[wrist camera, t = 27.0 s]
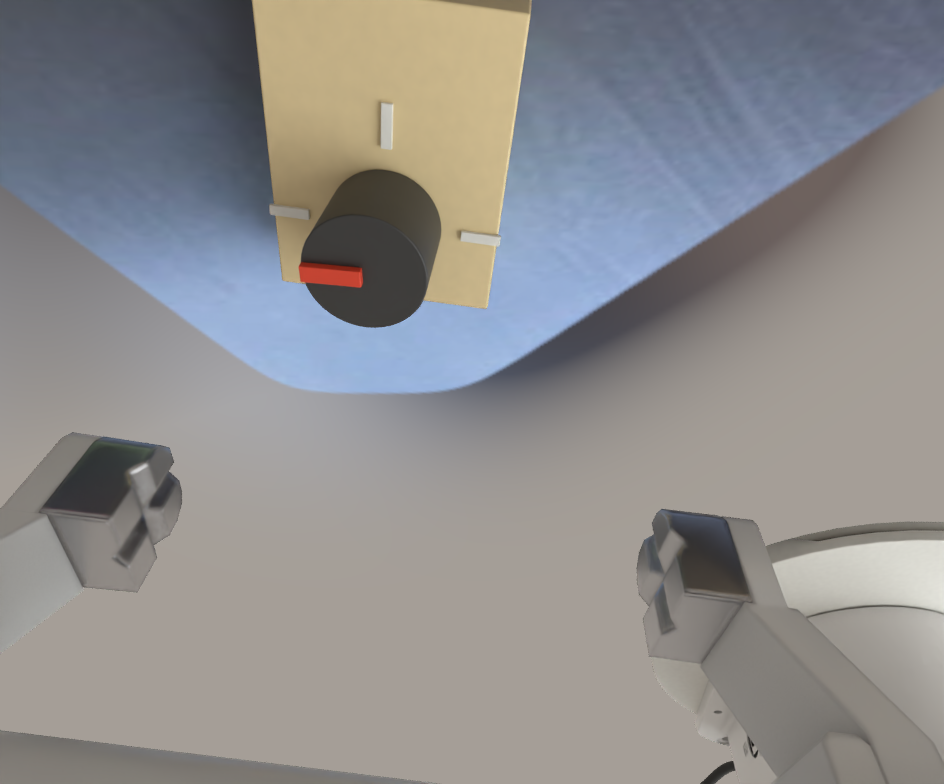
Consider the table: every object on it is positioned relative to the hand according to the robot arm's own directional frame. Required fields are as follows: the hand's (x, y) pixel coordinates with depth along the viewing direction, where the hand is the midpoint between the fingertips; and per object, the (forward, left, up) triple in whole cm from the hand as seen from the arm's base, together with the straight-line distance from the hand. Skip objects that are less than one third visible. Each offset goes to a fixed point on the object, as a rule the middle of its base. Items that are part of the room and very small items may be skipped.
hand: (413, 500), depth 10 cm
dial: (-2, +3, -14) cm, 14 cm away
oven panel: (0, +3, -17) cm, 17 cm away
